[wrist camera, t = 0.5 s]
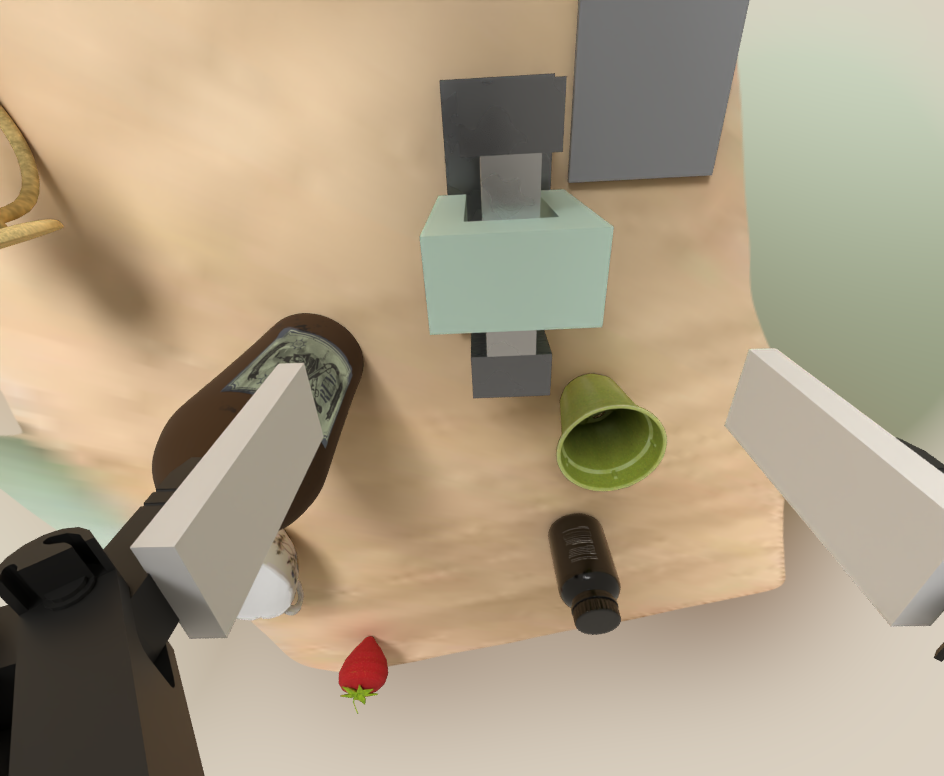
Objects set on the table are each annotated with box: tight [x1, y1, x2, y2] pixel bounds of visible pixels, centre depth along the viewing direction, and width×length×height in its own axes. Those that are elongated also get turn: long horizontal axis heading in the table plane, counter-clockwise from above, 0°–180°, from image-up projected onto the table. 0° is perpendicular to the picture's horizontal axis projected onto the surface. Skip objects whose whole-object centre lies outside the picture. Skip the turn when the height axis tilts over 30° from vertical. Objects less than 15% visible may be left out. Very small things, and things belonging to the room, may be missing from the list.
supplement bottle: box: [549, 514, 621, 635], centre depth 51 cm, size 7×7×12 cm
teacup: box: [236, 529, 304, 620], centre depth 53 cm, size 15×12×8 cm
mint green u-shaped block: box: [420, 189, 614, 335], centre depth 27 cm, size 5×9×13 cm, turn 93°
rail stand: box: [440, 73, 567, 398], centre depth 30 cm, size 19×8×14 cm, turn 3°
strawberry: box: [339, 636, 388, 713], centre depth 64 cm, size 6×8×10 cm
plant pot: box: [556, 374, 667, 491], centre depth 42 cm, size 9×9×9 cm
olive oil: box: [152, 313, 363, 531], centre depth 32 cm, size 11×11×25 cm
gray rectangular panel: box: [568, 0, 749, 183], centre depth 31 cm, size 11×11×1 cm
